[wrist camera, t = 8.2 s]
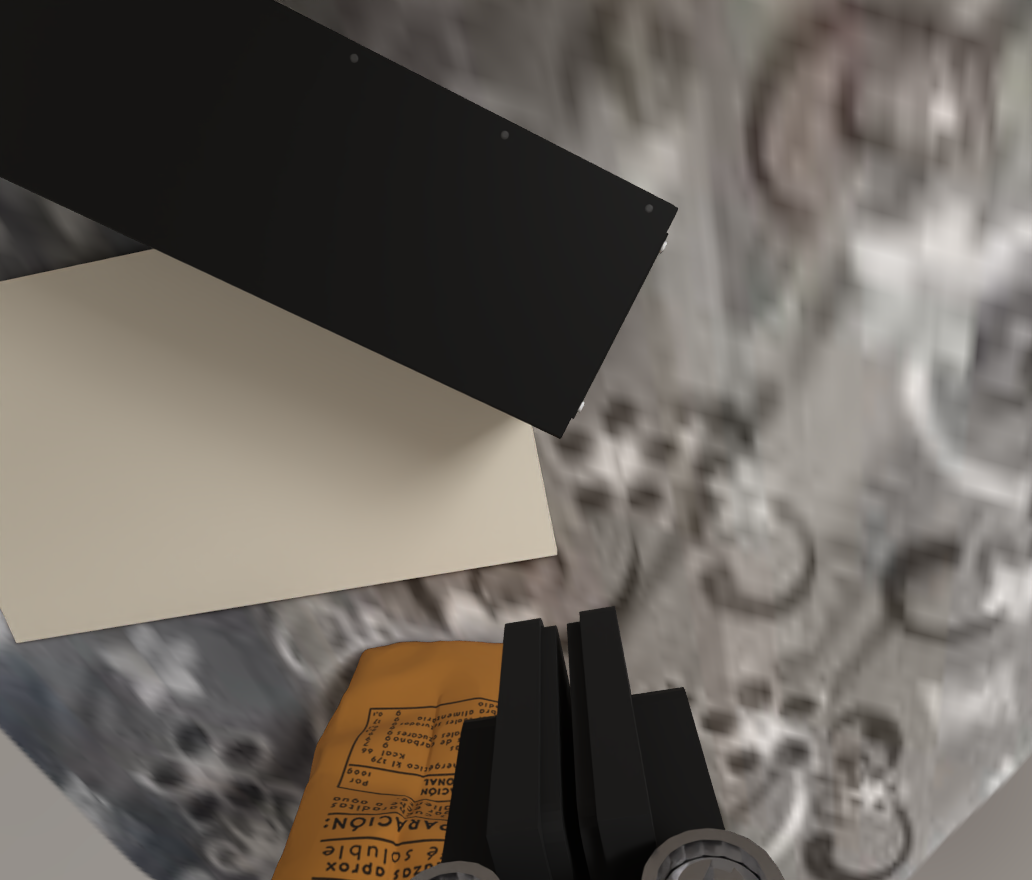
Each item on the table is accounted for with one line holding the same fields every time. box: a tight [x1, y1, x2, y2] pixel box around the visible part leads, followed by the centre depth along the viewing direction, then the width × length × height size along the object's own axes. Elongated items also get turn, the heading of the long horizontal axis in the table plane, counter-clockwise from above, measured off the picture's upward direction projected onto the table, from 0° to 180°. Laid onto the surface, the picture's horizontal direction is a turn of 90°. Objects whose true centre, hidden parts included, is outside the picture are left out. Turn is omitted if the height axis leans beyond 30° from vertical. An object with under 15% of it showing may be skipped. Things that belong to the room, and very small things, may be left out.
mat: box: [0, 249, 557, 643], centre depth 33 cm, size 26×16×1 cm, turn 101°
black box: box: [0, 0, 678, 439], centre depth 25 cm, size 8×8×28 cm
